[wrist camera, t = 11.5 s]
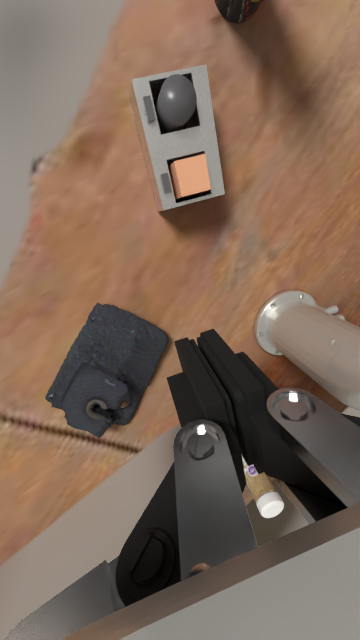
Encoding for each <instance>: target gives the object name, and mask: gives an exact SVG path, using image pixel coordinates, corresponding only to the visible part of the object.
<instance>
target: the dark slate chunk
mask: <svg viewBox="0 0 360 640" xmlns="http://www.w3.org/2000/svg"><path fill="white" fill-rule="evenodd" d="M167 343H168V337H167V335H166V334H165V332H164V331H163V330H161V329H159V328H157V327H156V326H154V325H152V324H151V323H149V322H148V321H146V320H144V319H141V318H138V317H137V316H135V315H134V314H132V313H130V312H128V311H125V310H122V309H118V308H117V307H115V306H114V305H108V304H104V305H100V304H98V303H97V304H96V305H95V306H94V308H93V310H92V311H91V312H90V314H89V316H88V320H87V322H86V324H85V326H83V327H82V330H81V331H80V332H79V335H78V337H77V338H76V340H75V341H74V343H73V345H72V346H71V349H70V350H69V352H68V354H67V358H66V359H65V360H64V362H63V364H62V366H61V368H60V370H59V372H58V374H57V376H56V378H55V380H54V382H53V384H52V386H51V387H50V389H49V391H48V393H47V395H46V397H45V399H46V400H47V401H49V402H51V403H52V406H51V407H55V408H59V409H62V410H63V411H64V412H65V418H66V420H67V424H68V425H70V426H71V427H73V428H76V429H80V430H84V431H88V432H90V433H91V434H92V435H94V436H97V437H98V438H99V437H101V436H102V435H103V434H104V433H105V431H106V430H107V429H108V427H111V424H110V423H112V424H117V425H127V424H128V423H129V421H130V420H131V419H132V417H133V416H134V413H135V410H136V409H137V407H138V404H139V402H140V399H141V397H142V395H143V393H144V389H145V388H146V386H148V384H149V381H150V380H151V378H152V376H153V374H154V370H155V368H156V366H157V363H158V362H159V360H160V357H161V355H162V353H163V352H164V350H165V348H166V344H167ZM125 400H126V401H127V402H130V404H129V405H128V406H127V407H125V408H120V407H121V404H122V402H123V401H125Z"/></svg>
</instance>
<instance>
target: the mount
mask: <svg viewBox="0 0 360 640" xmlns="http://www.w3.org/2000/svg"><path fill="white" fill-rule="evenodd" d="M174 74H180V75H183V76H185V77H186V78H188V79H189V80H190V82H191V83H192V84H193V86H194V88H195V91H196V97H197V102H196V108H195V111H194V113H193V114H192V116H191V117H190V119H189V120H188V121H187V123H186V125H187V129H184V130H179V131H175V132H171V133H166V134H162V135H161V133H160V129H159V124H158V120H157V115H156V111H155V106H154V102H153V100H156V99H158V96H159V93H160V90H161V87H162V84H163V83H164V81H165V80H166V79H167V78H168V77H169V76H171V75H174ZM130 104H131V108H132V112H133V116H134V120H135V124H136V128H137V132H138V136H139V140H140V144H141V148H142V151H143V155H144V159H145V163H146V167H147V171H148V175H149V179H150V183H151V187H152V191H153V195H154V199H155V203H156V207H157V210H158V211H163V210H167V209H171V208H175V207H179V206H182V205H186V204H190V203H194V202H197V201H201V200H205V199H209V198H212V197H216V196H220V195H224V194H225V191H224V184H223V177H222V171H221V164H220V157H219V150H218V143H217V136H216V129H215V122H214V116H213V109H212V102H211V95H210V88H209V81H208V74H207V68H206V64H205V65H200V66H195V67H191V68H186V69H181V70H176V71H171V72H166V73H161V74H156V75H151V76H146V77H141V78H136V79H131V91H130ZM202 154H205V156H206V163H207V169H208V175H209V181H210V187H211V189H210V190H207V191H204V192H201V193H199V196H200V197H198V198H195V199H191V200H187V201H183V202H180V203H176V201H175V196H174V192H173V187H172V183H171V178H170V174H169V169H168V166H170V165H171V164H172V163H173V162H174V161H177V160H181V159H185V158H190V157H194V156H198V155H202Z"/></svg>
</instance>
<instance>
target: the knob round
mask: <svg viewBox="0 0 360 640" xmlns="http://www.w3.org/2000/svg"><path fill="white" fill-rule="evenodd" d="M196 102H197V97H196V91H195V88H194V86H193V84H192V83H191V82H190V80H189V79H188V78H186V77H185V76H183V75H180V74H174V75H171V76H169V77H168V78H167V79H166V80H165V81H164V83H163V84H162V87H161V90H160V93H159V96H158V99H157V102H156V106H155V111H156V115H157V120H158V124H159V129H160V131H161V132H162V133H163V134H166V133H171V132H175V131H179V130H182V129H183V127H184V126H185V124H186V123H187V121H188V120H189V119H190V117H191V116H192V114H193V113H194V111H195V108H196Z"/></svg>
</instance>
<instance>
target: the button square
mask: <svg viewBox="0 0 360 640" xmlns="http://www.w3.org/2000/svg"><path fill="white" fill-rule="evenodd" d="M168 169H169V174H170V178H171V183H172V187H173V192H174V196H175V199H179V198H183V197H186V196H190V195H194V194H198V193H201V192H204V191H207V190H210V189H211V187H210V181H209V175H208V169H207V163H206V156H205V154H202V155H198V156H194V157H190V158H185V159H181V160H177V161H174V162H173V163H172V164H171V165H170V166H169V167H168Z"/></svg>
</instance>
